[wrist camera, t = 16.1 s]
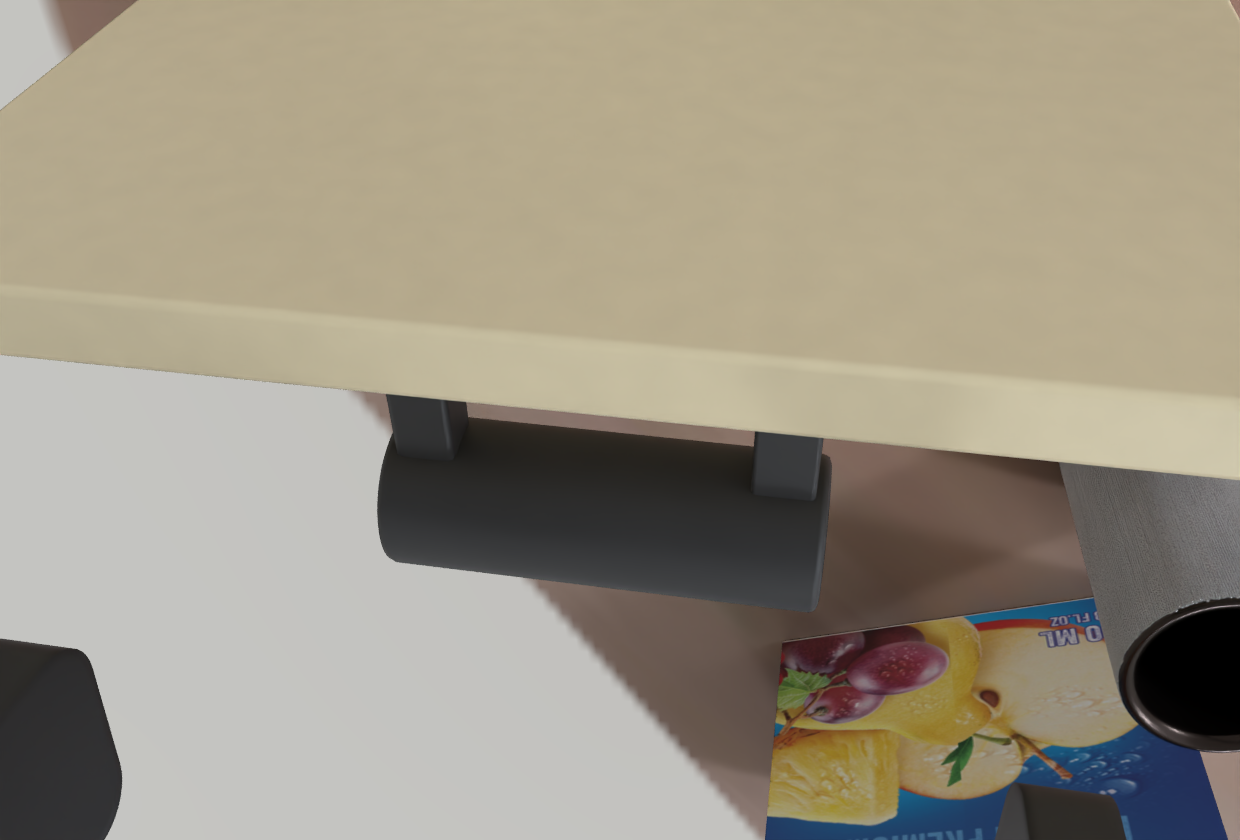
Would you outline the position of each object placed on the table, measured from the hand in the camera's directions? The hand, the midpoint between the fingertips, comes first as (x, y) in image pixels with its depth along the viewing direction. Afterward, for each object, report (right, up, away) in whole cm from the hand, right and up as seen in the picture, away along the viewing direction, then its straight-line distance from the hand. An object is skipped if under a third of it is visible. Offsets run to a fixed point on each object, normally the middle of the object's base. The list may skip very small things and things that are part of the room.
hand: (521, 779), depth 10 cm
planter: (+16, +3, +25) cm, 29 cm away
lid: (+2, +9, +5) cm, 11 cm away
